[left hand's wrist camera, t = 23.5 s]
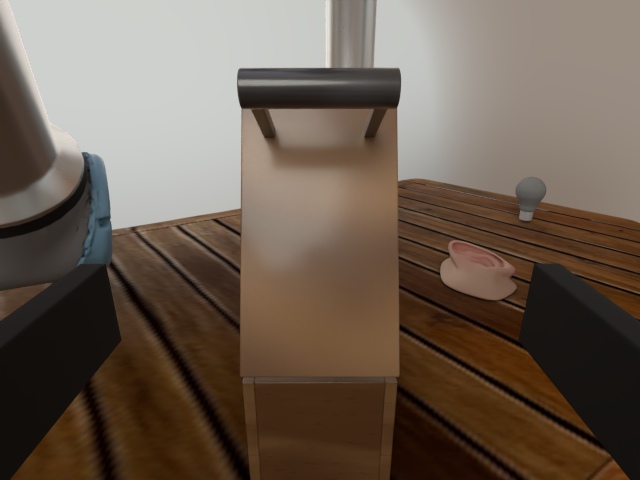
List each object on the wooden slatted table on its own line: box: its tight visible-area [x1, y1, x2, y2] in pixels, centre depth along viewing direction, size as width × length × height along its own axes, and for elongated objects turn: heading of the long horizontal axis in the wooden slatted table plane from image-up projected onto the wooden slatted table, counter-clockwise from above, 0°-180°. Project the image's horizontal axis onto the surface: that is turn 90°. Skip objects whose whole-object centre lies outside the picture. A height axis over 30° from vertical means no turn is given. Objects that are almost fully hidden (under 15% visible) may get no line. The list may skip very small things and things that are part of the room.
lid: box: [237, 68, 401, 377], centre depth 22 cm, size 18×10×8 cm
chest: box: [242, 377, 397, 480], centre depth 35 cm, size 17×10×10 cm, turn 0°
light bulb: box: [516, 177, 546, 222], centre depth 89 cm, size 6×6×10 cm
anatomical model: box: [440, 241, 517, 300], centre depth 62 cm, size 13×4×12 cm
